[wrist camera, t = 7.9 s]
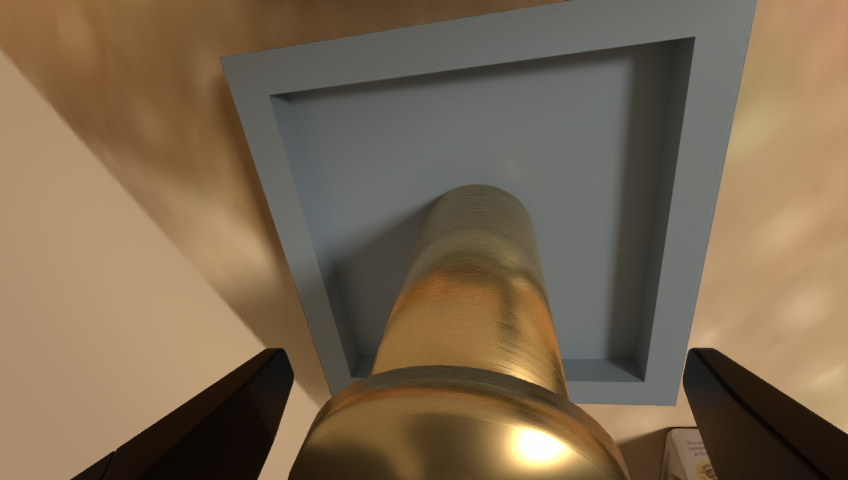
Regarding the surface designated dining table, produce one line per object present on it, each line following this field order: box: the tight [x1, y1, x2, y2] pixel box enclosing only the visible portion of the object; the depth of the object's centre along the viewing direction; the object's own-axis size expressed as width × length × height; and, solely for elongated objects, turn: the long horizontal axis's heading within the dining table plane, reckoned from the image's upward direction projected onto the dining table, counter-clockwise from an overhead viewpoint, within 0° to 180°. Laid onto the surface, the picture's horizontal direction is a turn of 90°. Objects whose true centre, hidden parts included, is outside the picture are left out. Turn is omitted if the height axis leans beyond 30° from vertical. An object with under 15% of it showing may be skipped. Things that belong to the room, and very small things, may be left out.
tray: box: [220, 0, 757, 406], centre depth 14 cm, size 14×14×2 cm
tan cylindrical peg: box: [288, 184, 631, 480], centre depth 10 cm, size 5×5×10 cm
